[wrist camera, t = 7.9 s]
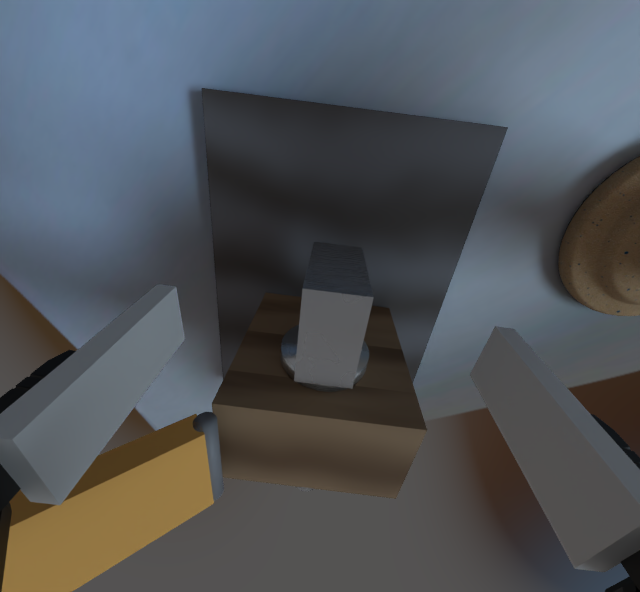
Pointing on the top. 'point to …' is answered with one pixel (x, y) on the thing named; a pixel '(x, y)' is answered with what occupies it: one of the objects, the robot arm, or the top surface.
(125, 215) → the top surface
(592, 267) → the candle holder
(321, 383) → the lynch pin
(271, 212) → the hitch block
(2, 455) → the robot arm
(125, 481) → the plate
